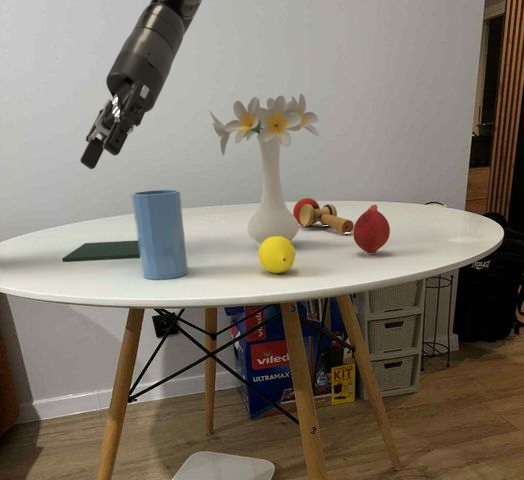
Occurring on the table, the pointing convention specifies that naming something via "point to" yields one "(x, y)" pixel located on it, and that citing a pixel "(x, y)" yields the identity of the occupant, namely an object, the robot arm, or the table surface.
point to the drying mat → (105, 251)
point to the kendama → (320, 215)
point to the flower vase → (269, 157)
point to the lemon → (276, 254)
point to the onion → (371, 230)
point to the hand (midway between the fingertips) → (97, 158)
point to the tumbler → (160, 233)
